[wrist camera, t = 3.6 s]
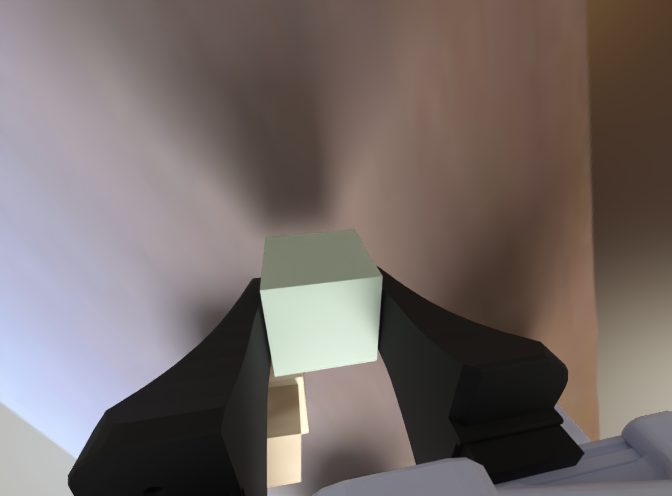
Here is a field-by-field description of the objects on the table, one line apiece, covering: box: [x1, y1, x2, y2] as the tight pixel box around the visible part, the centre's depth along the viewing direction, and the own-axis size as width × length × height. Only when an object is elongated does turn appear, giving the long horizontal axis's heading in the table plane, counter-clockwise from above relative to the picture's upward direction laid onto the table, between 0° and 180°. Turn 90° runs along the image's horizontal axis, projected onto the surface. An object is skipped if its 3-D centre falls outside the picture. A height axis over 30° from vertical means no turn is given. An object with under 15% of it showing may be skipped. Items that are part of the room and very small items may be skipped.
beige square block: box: [267, 384, 301, 488], centre depth 17 cm, size 5×5×3 cm
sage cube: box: [260, 229, 383, 377], centre depth 12 cm, size 4×4×4 cm
